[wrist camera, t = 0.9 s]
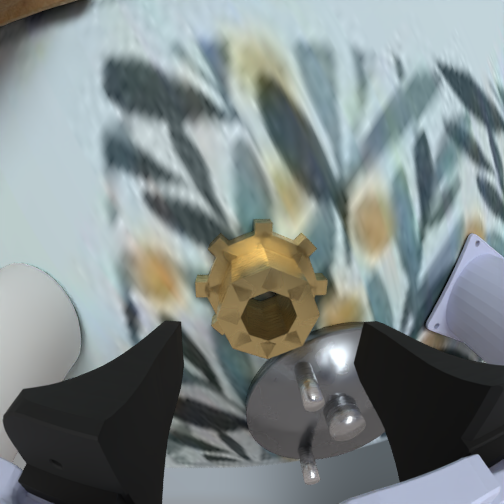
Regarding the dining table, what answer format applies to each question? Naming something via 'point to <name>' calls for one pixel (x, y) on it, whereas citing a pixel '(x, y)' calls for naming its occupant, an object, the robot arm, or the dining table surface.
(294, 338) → the planet gear
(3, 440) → the alcohol
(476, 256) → the robot arm
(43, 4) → the stone cup
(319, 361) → the carrier
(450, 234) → the dining table surface
